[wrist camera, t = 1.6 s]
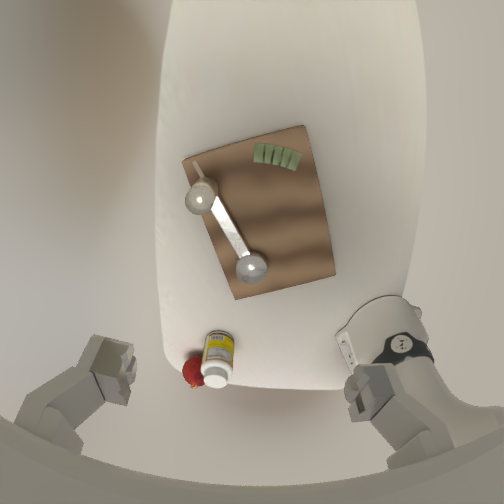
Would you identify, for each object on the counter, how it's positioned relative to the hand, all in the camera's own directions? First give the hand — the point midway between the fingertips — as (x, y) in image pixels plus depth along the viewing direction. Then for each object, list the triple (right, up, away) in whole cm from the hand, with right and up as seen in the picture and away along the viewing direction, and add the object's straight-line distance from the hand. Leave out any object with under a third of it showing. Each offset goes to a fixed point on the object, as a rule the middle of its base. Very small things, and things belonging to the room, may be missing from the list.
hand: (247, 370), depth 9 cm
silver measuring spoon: (-3, +7, +30) cm, 31 cm away
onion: (-11, -17, +46) cm, 51 cm away
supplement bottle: (-6, -13, +44) cm, 46 cm away
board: (+2, +9, +32) cm, 33 cm away
